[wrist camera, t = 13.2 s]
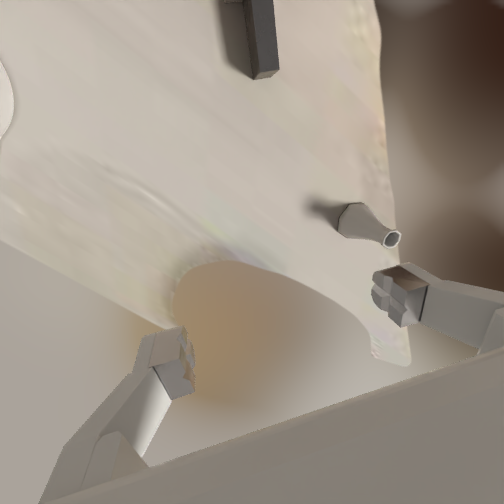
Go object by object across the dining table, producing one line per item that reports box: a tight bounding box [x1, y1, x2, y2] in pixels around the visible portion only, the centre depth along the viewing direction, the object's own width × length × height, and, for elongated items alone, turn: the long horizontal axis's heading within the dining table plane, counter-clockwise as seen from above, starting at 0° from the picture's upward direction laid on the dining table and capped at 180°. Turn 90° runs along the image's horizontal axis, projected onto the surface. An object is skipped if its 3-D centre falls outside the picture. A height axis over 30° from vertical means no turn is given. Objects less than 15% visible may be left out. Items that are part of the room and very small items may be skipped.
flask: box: [338, 203, 401, 249], centre depth 41 cm, size 7×7×10 cm
